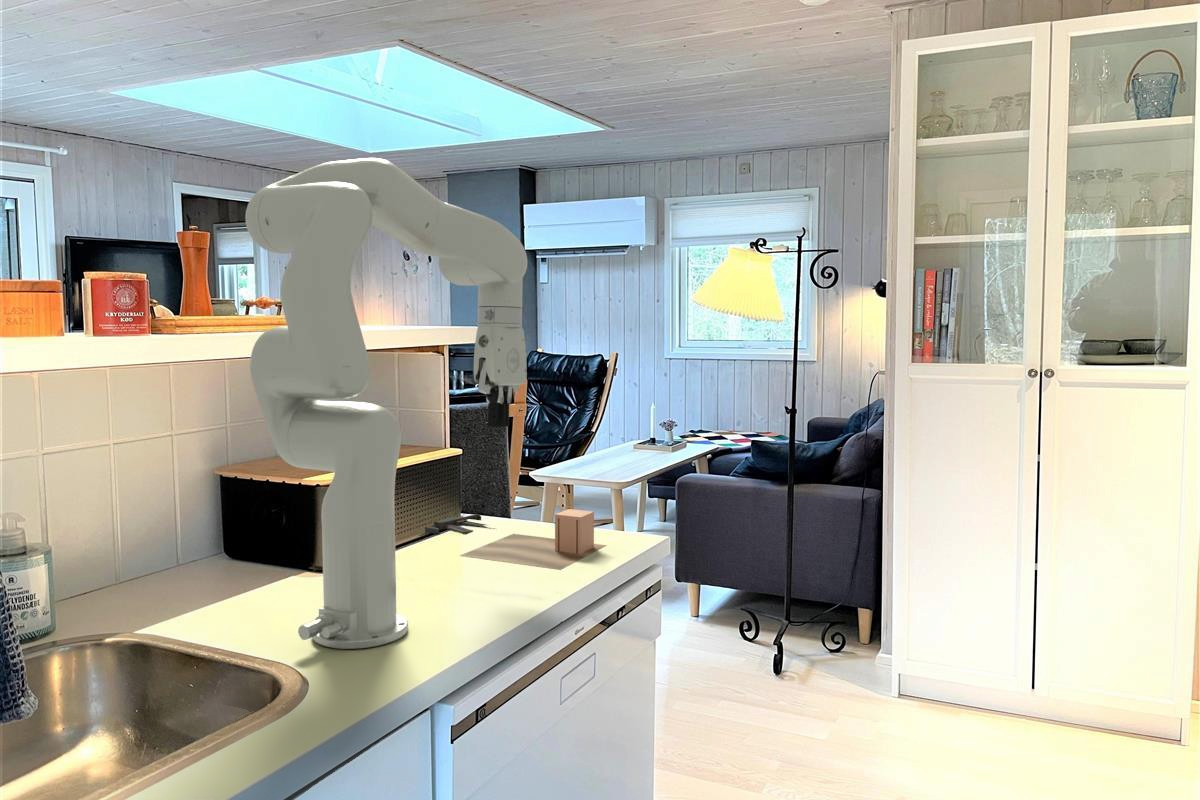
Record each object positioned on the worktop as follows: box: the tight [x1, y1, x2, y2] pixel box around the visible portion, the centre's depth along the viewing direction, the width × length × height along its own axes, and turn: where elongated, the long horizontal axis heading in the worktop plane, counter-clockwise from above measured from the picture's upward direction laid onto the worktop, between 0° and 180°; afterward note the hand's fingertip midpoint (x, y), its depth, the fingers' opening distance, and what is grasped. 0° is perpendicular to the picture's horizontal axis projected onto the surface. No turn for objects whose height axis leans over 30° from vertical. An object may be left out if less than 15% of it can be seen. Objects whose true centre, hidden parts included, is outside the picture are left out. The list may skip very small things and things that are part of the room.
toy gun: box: [424, 513, 496, 535], centre depth 180 cm, size 3×19×15 cm
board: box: [459, 533, 608, 571], centre depth 159 cm, size 18×20×2 cm
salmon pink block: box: [554, 508, 595, 554], centre depth 160 cm, size 5×5×7 cm
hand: (498, 426), depth 152 cm, fingers closed
